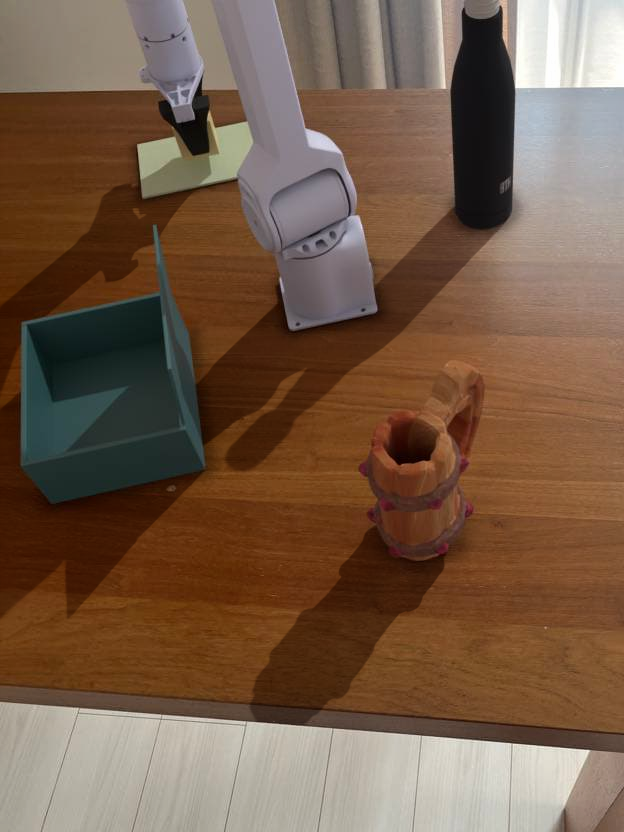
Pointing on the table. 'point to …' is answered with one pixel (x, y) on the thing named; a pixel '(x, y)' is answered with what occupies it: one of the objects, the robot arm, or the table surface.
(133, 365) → the carton
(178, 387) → the flap
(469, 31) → the black insulated flask
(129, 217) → the table surface
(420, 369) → the table surface
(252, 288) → the table surface
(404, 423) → the mug
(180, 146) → the block
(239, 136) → the placemat
